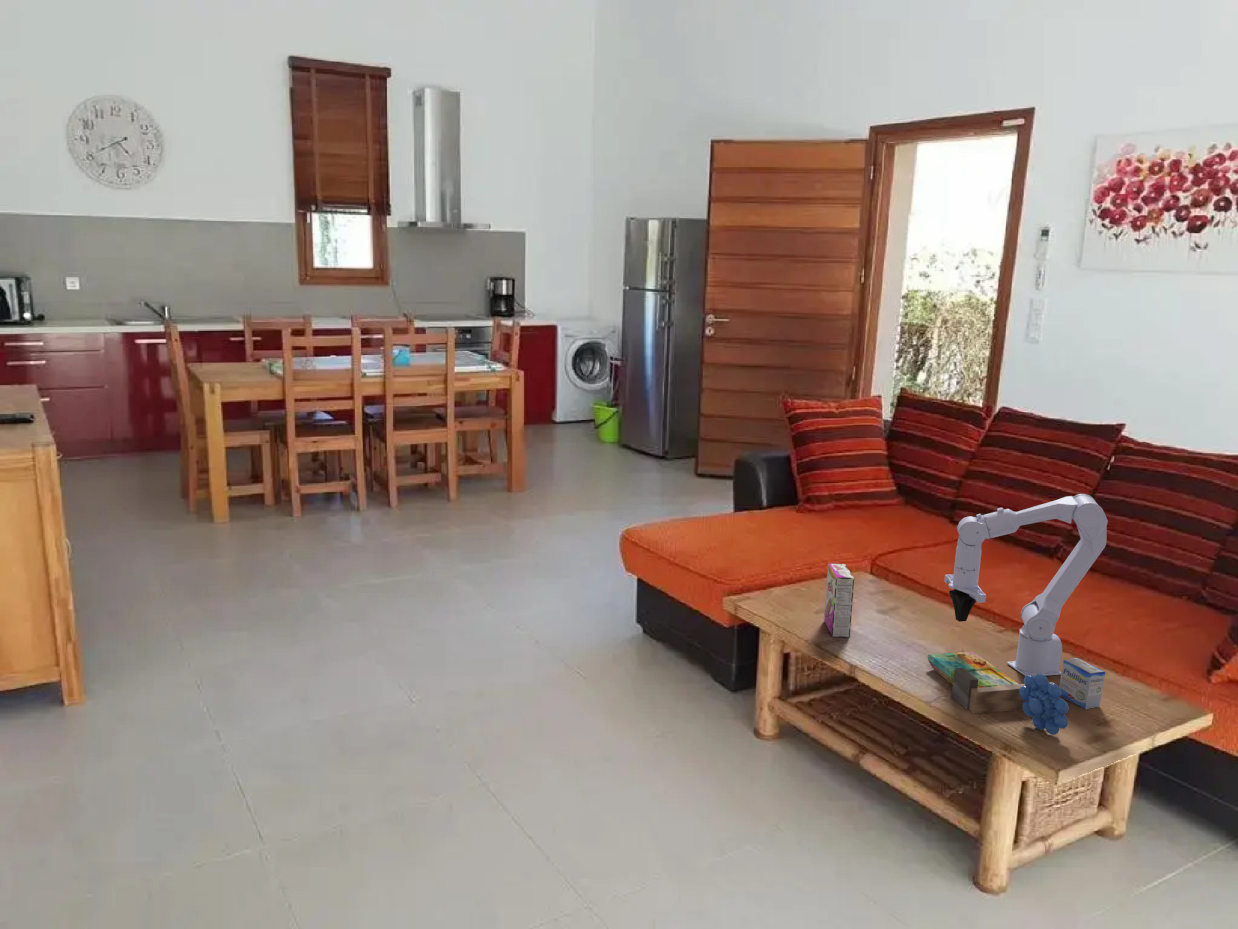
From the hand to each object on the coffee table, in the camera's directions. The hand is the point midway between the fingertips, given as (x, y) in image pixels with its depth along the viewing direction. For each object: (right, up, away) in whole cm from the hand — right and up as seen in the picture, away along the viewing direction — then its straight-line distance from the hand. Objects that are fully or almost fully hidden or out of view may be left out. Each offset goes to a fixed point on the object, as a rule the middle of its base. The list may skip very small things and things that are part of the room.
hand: (961, 620), depth 233 cm
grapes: (+5, -18, -32) cm, 37 cm away
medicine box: (+20, -15, -17) cm, 31 cm away
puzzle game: (-1, -14, -11) cm, 17 cm away
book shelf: (+2, -15, -19) cm, 25 cm away
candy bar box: (-26, -6, +19) cm, 33 cm away
